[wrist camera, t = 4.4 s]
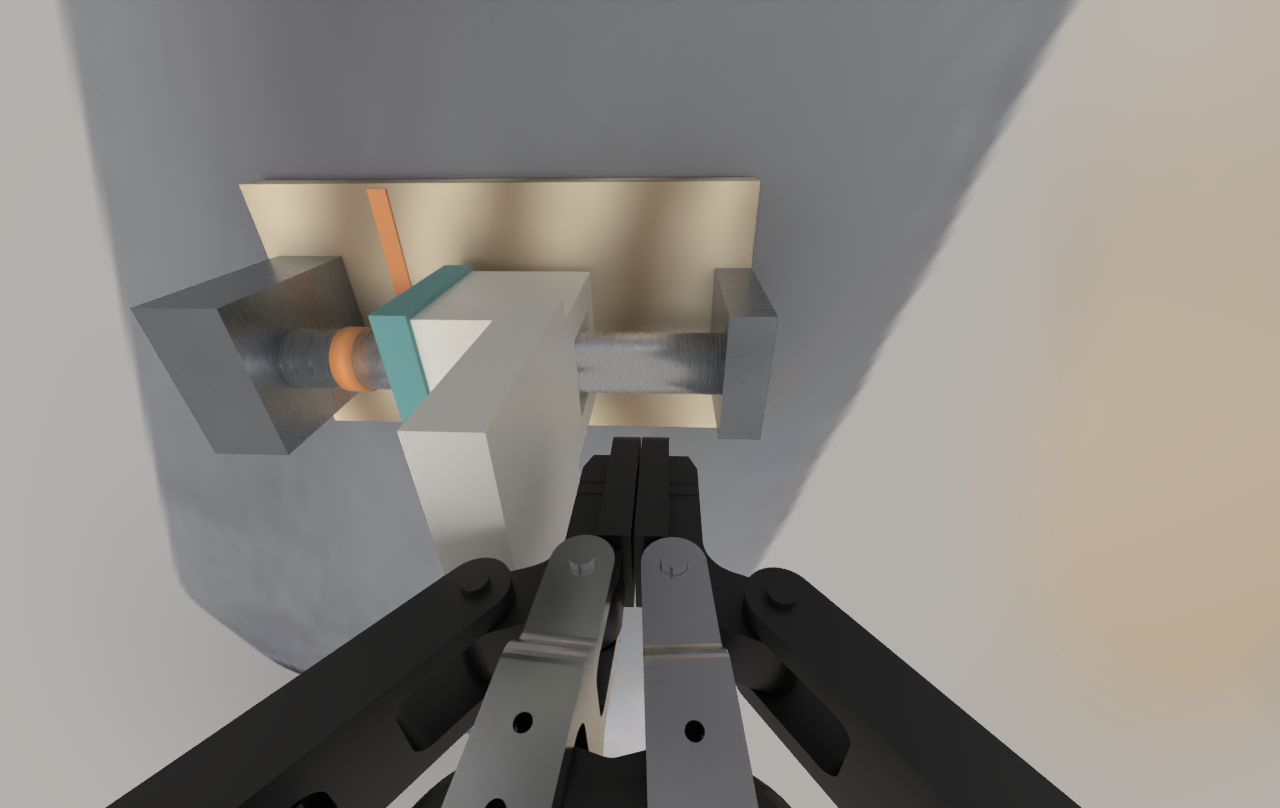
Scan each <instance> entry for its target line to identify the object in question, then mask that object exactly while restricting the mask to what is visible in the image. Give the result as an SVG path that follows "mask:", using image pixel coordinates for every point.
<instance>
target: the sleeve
mask: <svg viewBox="0 0 1280 808" xmlns="http://www.w3.org/2000/svg"><path fill="white" fill-rule="evenodd" d="M410 323H411V326H412V330H413V334H414V337H415V341H416V344H417V348H418V352H419V355H420V359H421V363H422V366H423V370H424V373H425V377H426V381H427V384H428V388H429V392H430V393H429V395H428V396H427V397H426V398H425V399H424V400H423V402H422V403H421V404H420V405H419V406H418V407H417V408H416V410H415V411H414V412H413V413H412V414H411V415H410V417H409V418H408V419H407V420H406V421H405V422H404V423H403V425H402V426H401V427H400V428H399V429H398V430H397V433H398V436H399V439H400V442H401V445H402V448H403V451H404V454H405V457H406V460H407V463H408V466H409V469H410V472H411V475H412V478H413V481H414V484H415V487H416V490H417V493H418V496H419V499H420V502H421V505H422V508H423V511H424V514H425V517H426V520H427V523H428V526H429V529H430V532H431V535H432V538H433V541H434V544H435V547H436V550H437V553H438V556H439V559H440V562H441V565H442V568H443V571H444V574H445V575H446V574H448V573H449V572H451V571H452V570H454V569H455V568H457V567H458V566H460V565H461V564H463V563H465V562H467V561H470V560H473V559H477V558H494V559H498V560H500V561H502V562H503V563H505V564H506V566H507V567H508V568H509V570H510V571H514V570H518V569H522V568H526V567H530V566H534V565H537V564H540V563H542V562H544V561H546V560H548V559H549V558H550V556H551V554H552V552H553V551H554V549H555V548H556V547H557V546H558V545H559V544H560V543H562V542H563V541H565V537H566V533H567V529H568V525H569V521H570V517H571V513H572V509H573V505H574V501H575V496H576V492H577V488H578V484H579V480H580V469H579V460H580V456H581V452H582V448H583V445H584V441H585V437H586V433H587V429H588V425H589V421H590V418H591V414H592V410H593V406H594V402H595V398H596V394H597V393H579V385H578V373H577V362H576V351H575V339H576V336H577V334H578V332H579V331H593V332H594V323H593V308H592V292H591V277H590V272H577V271H471V272H470V273H469V274H468V275H466V276H465V277H464V278H462V279H461V280H460V281H459V282H457V283H456V284H455V285H453V286H452V287H451V288H450V289H448V290H447V291H446V292H445V293H443V294H442V295H441V296H439V297H438V298H437V299H436V300H434V301H433V302H432V303H430V304H429V305H428V306H427V307H425V308H424V309H423V310H421V311H420V312H419V313H418V314H416V315H415V316H414V317H412V318H411V319H410Z"/></svg>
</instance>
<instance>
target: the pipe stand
mask: <svg viewBox="0 0 1280 808" xmlns="http://www.w3.org/2000/svg"><path fill="white" fill-rule="evenodd" d="M760 183H761V181H760V180H758V179H757V178H755V177H691V178H540V179H389V180H263V181H257V182H250V183H244V184H239V186H240V188H241V191H242V193H243V196H244V198H245V201H246V203H247V206H248V208H249V211H250V213H251V215H252V218H253V220H254V223H255V225H256V228H257V230H258V233H259V235H260V237H261V240H262V242H263V245H264V247H265V250H266V252H267V255H268V257H269V259H268V260H266V261H263V262H260V263H257V264H254V265H251V266H249V267H246V268H243V269H240V270H237V271H234V272H232V273H229V274H226V275H223V276H220V277H217V278H215V279H212V280H209V281H206V282H203V283H201V284H198V285H195V286H192V287H189V288H186V289H184V290H181V291H178V292H175V293H172V294H169V295H167V296H164V297H161V298H158V299H155V300H152V301H150V302H147V303H144V304H141V305H138V306H135V307H133V308H130V309H131V310H132V312H133V314H134V315H135V317H136V319H137V320H138V322H139V324H140V326H141V327H142V329H143V331H144V332H145V334H146V336H147V337H148V339H149V341H150V343H151V344H152V346H153V348H154V349H155V351H156V353H157V354H158V356H159V358H160V360H161V361H162V363H163V365H164V366H165V368H166V370H167V371H168V373H169V375H170V377H171V378H172V380H173V382H174V383H175V385H176V387H177V388H178V390H179V392H180V394H181V395H182V397H183V399H184V400H185V402H186V404H187V405H188V407H189V409H190V411H191V412H192V414H193V416H194V417H195V419H196V421H197V422H198V424H199V426H200V428H201V429H202V431H203V433H204V434H205V436H206V438H207V439H208V441H209V443H210V445H211V446H212V448H213V450H214V451H215V453H222V454H265V455H289V454H290V453H291V452H292V451H293V450H295V449H296V448H297V447H298V446H299V445H300V444H301V443H302V442H304V441H305V440H306V439H307V438H308V437H309V436H310V435H312V434H313V433H314V432H315V431H316V430H317V429H318V428H319V427H321V426H322V425H323V424H324V423H325V422H326V421H327V420H328V419H330V418H331V417H332V416H334V419H335V420H340V421H392V422H402V420H401V417H400V414H399V411H398V408H397V405H396V401H395V398H394V395H393V392H392V389H391V386H390V383H389V380H388V377H387V374H386V370H385V367H384V364H383V361H382V358H381V355H380V352H379V349H378V346H377V343H376V339H375V336H374V333H373V330H372V327H371V324H370V321H369V318H368V315H370V314H371V313H373V312H374V311H376V310H377V309H379V308H380V307H382V306H383V305H385V304H386V303H388V302H389V301H391V300H392V299H394V298H395V297H397V296H398V295H400V294H401V293H403V292H405V291H406V290H408V289H409V288H411V287H412V286H414V285H415V284H417V283H418V282H420V281H421V280H423V279H424V278H426V277H427V276H429V275H430V274H432V273H433V272H435V271H436V270H438V269H439V268H441V267H443V266H444V265H473V270H474V271H577V272H590V277H591V292H592V308H593V323H594V332H593V331H579V332H578V334H577V336H576V339H575V351H576V362H577V373H578V385H579V393H597V394H596V398H595V402H594V406H593V410H592V414H591V418H590V421H589V425H600V426H652V427H704V428H717V432H718V438H719V439H754V440H760V437H761V430H762V423H763V416H764V410H765V403H766V396H767V389H768V382H769V375H770V369H771V362H772V355H773V348H774V341H775V334H776V328H777V321H778V316H777V314H776V312H775V310H774V309H773V307H772V305H771V303H770V301H769V300H768V298H767V296H766V294H765V292H764V291H763V289H762V287H761V285H760V283H759V281H758V280H757V278H756V276H755V274H754V272H753V271H752V269H751V265H752V256H753V247H754V237H755V228H756V219H757V210H758V201H759V192H760Z"/></svg>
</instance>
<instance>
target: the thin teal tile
mask: <svg viewBox="0 0 1280 808" xmlns="http://www.w3.org/2000/svg"><path fill="white" fill-rule="evenodd" d="M471 271H474V270H473V265H444V266H443V267H441V268H439V269H438V270H436V271H435V272H433V273H432V274H430V275H429V276H427V277H426V278H424V279H423V280H421V281H420V282H418V283H417V284H415V285H414V286H412V287H411V288H409V289H408V290H406V291H405V292H403V293H401V294H400V295H398V296H397V297H395V298H394V299H392V300H391V301H389V302H388V303H386V304H385V305H383V306H382V307H380V308H379V309H377V310H376V311H374V312H373V313H371V314H370V315H368V318H369V321H370V324H371V327H372V330H373V333H374V336H375V339H376V343H377V346H378V349H379V352H380V355H381V358H382V361H383V364H384V367H385V370H386V374H387V377H388V380H389V383H390V386H391V389H392V392H393V395H394V398H395V401H396V405H397V408H398V411H399V414H400V417H401V420H402V423H404V422H405V421H406V420H407V419H408V418H409V417H410V415H411V414H412V413H413V412H414V411H415V410H416V408H417V407H418V406H419V405H420V404H421V403H422V402H423V400H424V399H425V398H426V397H427V396H428V395H429V393H430V392H429V388H428V384H427V381H426V377H425V373H424V370H423V366H422V363H421V359H420V355H419V352H418V348H417V344H416V341H415V337H414V334H413V330H412V326H411V323H410V319H411V318H412V317H414V316H415V315H416V314H418V313H419V312H420V311H421V310H423V309H424V308H425V307H427V306H428V305H429V304H430V303H432V302H433V301H434V300H436V299H437V298H438V297H439V296H441V295H442V294H443V293H445V292H446V291H447V290H448V289H450V288H451V287H452V286H453V285H455V284H456V283H457V282H459V281H460V280H461V279H462V278H464V277H465V276H466V275H468V274H469V273H470V272H471Z"/></svg>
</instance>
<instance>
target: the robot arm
mask: <svg viewBox="0 0 1280 808" xmlns="http://www.w3.org/2000/svg"><path fill="white" fill-rule="evenodd" d="M635 584H636V607H642V623H643V661H644V697H645V733H646V750H645V751H641V752H637V753H633V754H629V755H625V756H621V757H616V758H607V757H603V747H604V731H605V723H606V716H607V711H608V705H609V699H610V694H611V688H612V682H613V677H614V671H615V665H616V660H617V654H618V648H619V643H620V631H621V627H622V619H623V609H624V607H634V595H635ZM735 684H736V686H737V688H738V690H739V691H740V693H741V694H742V695H743V697H744V698H745V699H746V700H747V701H748V702H749V704H750V705H751V706H752V707H753V708H754V709H755V711H756V712H757V713H758V714H759V715H760V716H761V718H762V719H763V720H764V721H765V722H766V724H767V725H768V726H769V727H770V728H771V729H772V731H773V732H774V733H775V734H776V735H777V736H778V738H779V739H780V740H781V741H782V742H783V743H784V745H785V746H786V747H787V748H788V749H789V750H790V752H791V753H792V754H793V755H794V756H795V757H796V758H797V760H798V761H799V762H800V763H801V764H802V766H803V767H804V768H805V769H806V770H807V771H808V773H809V774H810V775H811V776H812V777H813V779H814V780H815V781H816V782H817V783H818V784H819V785H820V787H821V788H822V789H823V790H824V791H825V793H826V794H827V795H828V796H829V797H830V798H831V800H832V801H833V802H834V803H835V804H836V805H837V807H838V808H1081V807H1080V806H1079V805H1077V804H1076V803H1075V802H1074V801H1073V800H1071V799H1070V798H1069V797H1068V796H1067V795H1065V794H1064V793H1063V792H1062V791H1061V790H1059V789H1058V788H1057V787H1056V786H1054V785H1053V784H1052V783H1051V782H1050V781H1048V780H1047V779H1046V778H1045V777H1043V776H1042V775H1041V774H1040V773H1039V772H1037V771H1036V770H1035V769H1034V768H1033V767H1031V766H1030V765H1029V764H1028V763H1027V762H1025V761H1024V760H1023V759H1022V758H1021V757H1019V756H1018V755H1017V754H1016V753H1014V752H1013V751H1012V750H1011V749H1009V748H1008V747H1007V746H1006V745H1005V744H1004V743H1002V742H1001V741H1000V740H999V739H998V738H996V737H995V736H994V735H993V734H991V733H990V732H989V731H988V730H987V729H985V728H984V727H983V726H982V725H981V724H979V723H978V722H977V721H976V720H974V719H973V718H972V717H971V716H970V715H968V714H967V713H966V712H965V711H963V710H962V709H961V708H960V707H959V706H957V705H956V704H955V703H954V702H953V701H951V700H950V699H949V698H948V697H947V696H945V695H944V694H943V693H942V692H941V691H939V690H938V689H937V688H936V687H934V686H933V685H932V684H931V683H930V682H929V681H927V680H926V679H925V678H924V677H922V676H921V675H920V674H919V673H918V672H916V671H915V670H914V669H913V668H912V667H910V666H909V665H908V664H907V663H905V662H904V661H903V660H902V659H901V658H899V657H898V656H897V655H896V654H895V653H893V652H892V651H891V650H890V649H889V648H887V647H886V646H885V645H884V644H882V643H881V642H880V641H879V640H878V639H876V638H875V637H874V636H873V635H872V634H870V633H869V632H868V631H867V630H866V629H864V628H863V627H862V626H861V625H859V624H858V623H857V622H856V621H855V620H853V619H852V618H851V617H850V616H849V615H847V614H846V613H845V612H844V611H842V610H841V609H840V608H839V607H837V606H836V605H835V604H834V603H833V602H832V601H830V600H829V599H828V598H827V597H826V596H824V595H823V594H822V593H820V592H819V591H818V590H817V589H816V588H815V587H813V586H812V585H811V584H810V583H809V582H807V581H806V580H805V579H804V578H802V577H801V576H800V575H798V574H796V573H794V572H792V571H789V570H786V569H782V568H764V569H761V570H758V571H757V572H755V573H754V574H752V575H751V576H750V577H746V576H743V575H740V574H737V573H734V572H731V571H728V570H726V569H724V568H722V567H720V566H719V565H717V564H716V563H715V562H714V561H713V560H712V559H711V558H710V557H709V556H708V554H707V553H706V551H705V549H704V546H703V540H702V527H701V514H700V500H699V487H698V474H697V468H696V467H695V465H694V464H693V463H692V461H691V460H690V458H689V457H685V456H669V438H661V437H642V447H641V438H640V437H614V438H613V443H612V449H611V455H594V456H593V457H592V458H591V459H590V460H589V461H588V462H587V463H586V465H585V466H584V467H583V470H582V474H581V478H580V484H579V487H578V491H577V495H576V499H575V503H574V507H573V511H572V515H571V519H570V523H569V527H568V531H567V535H566V538H565V541H563V542H562V543H560V544H559V545H558V546H557V547H556V548H555V549H554V551H553V552H552V554H551V556H550V558H549V559H548V560H546V561H544V562H542V563H540V564H537V565H534V566H530V567H526V568H522V569H518V570H514V571H510V570H509V568H508V567H507V566H506V564H505V563H503V562H502V561H500V560H498V559H494V558H477V559H473V560H470V561H467V562H465V563H463V564H461V565H460V566H458V567H457V568H455V569H454V570H452V571H451V572H449V573H448V574H446V575H445V576H443V577H442V578H440V579H439V580H438V581H436V582H435V583H433V584H432V585H430V586H429V587H427V588H426V589H424V590H423V591H421V592H420V593H419V594H417V595H416V596H414V597H413V598H411V599H410V600H408V601H407V602H405V603H404V604H402V605H401V606H400V607H398V608H397V609H395V610H394V611H392V612H391V613H389V614H388V615H386V616H385V617H383V618H382V619H381V620H379V621H378V622H376V623H375V624H373V625H372V626H370V627H369V628H367V629H366V630H365V631H363V632H362V633H360V634H359V635H357V636H356V637H354V638H353V639H351V640H350V641H348V642H347V643H346V644H344V645H343V646H341V647H340V648H338V649H337V650H335V651H334V652H332V653H331V654H329V655H328V656H327V657H325V658H324V659H322V660H321V661H319V662H318V663H316V664H315V665H313V666H312V667H310V668H309V669H308V670H306V671H305V672H303V673H302V674H300V675H299V676H297V677H296V678H294V679H293V680H291V681H290V682H289V683H287V684H286V685H284V686H283V687H282V688H280V689H278V690H277V691H275V692H274V693H273V694H271V695H270V696H268V697H267V698H265V699H264V700H262V701H261V702H259V703H258V704H256V705H255V706H253V707H252V708H251V709H249V710H248V711H246V712H245V713H243V714H242V715H240V716H239V717H238V718H236V719H234V720H233V721H232V722H230V723H229V724H227V725H226V726H224V727H223V728H221V729H220V730H219V731H217V732H216V733H214V734H213V735H211V736H210V737H208V738H207V739H205V740H204V741H202V742H201V743H200V744H198V745H197V746H195V747H194V748H192V749H191V750H189V751H188V752H186V753H185V754H184V755H182V756H180V757H179V758H178V759H176V760H175V761H173V762H172V763H170V764H169V765H167V766H166V767H164V768H163V769H162V770H160V771H159V772H157V773H156V774H154V775H153V776H151V777H150V778H148V779H147V780H146V781H144V782H142V783H141V784H140V785H138V786H137V787H135V788H134V789H132V790H131V791H129V792H128V793H126V794H125V795H123V796H122V797H121V798H119V799H118V800H116V801H115V802H113V803H112V804H110V805H109V806H108V807H106V808H386V807H387V806H388V805H389V804H390V803H391V802H393V801H394V800H395V799H396V798H397V797H398V796H399V795H400V794H401V793H402V792H403V791H404V790H405V789H406V788H407V787H408V786H409V785H411V784H412V783H413V782H414V781H415V780H416V779H417V778H418V777H419V776H420V775H421V774H422V773H423V772H424V771H425V770H426V769H428V768H429V767H430V766H431V765H432V764H433V763H434V762H435V761H436V760H437V759H438V758H439V757H440V756H441V755H442V754H443V753H445V752H446V751H447V750H448V749H449V747H451V746H452V745H453V744H454V743H455V742H456V741H457V740H458V739H459V738H460V737H461V736H463V734H465V733H466V732H467V731H468V730H469V729H470V728H471V727H472V726H473V728H472V730H471V733H470V735H469V738H468V741H467V743H466V746H465V748H464V751H463V754H462V756H461V759H460V761H459V764H458V766H457V769H456V770H455V771H454V772H452V773H451V774H450V775H448V776H447V777H445V778H444V779H442V780H441V781H440V782H439V783H437V784H436V785H435V786H434V787H433V788H432V789H430V790H429V791H428V792H427V793H426V794H425V795H424V796H423V797H422V798H421V799H420V800H419V801H418V802H417V803H416V804H415V805H414V806H413V807H412V808H791V807H790V806H789V805H788V804H787V803H786V801H785V800H784V799H783V798H782V797H781V796H779V795H778V794H777V793H776V792H775V791H774V790H773V789H771V788H770V787H769V786H768V785H766V784H765V783H763V782H762V781H760V780H759V779H758V778H756V777H754V776H753V775H752V771H751V765H750V760H749V754H748V749H747V744H746V739H745V733H744V728H743V723H742V718H741V712H740V707H739V702H738V696H737V691H736V686H735Z"/></svg>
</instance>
